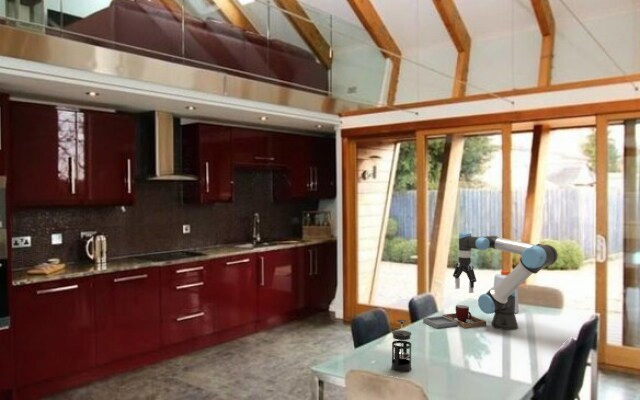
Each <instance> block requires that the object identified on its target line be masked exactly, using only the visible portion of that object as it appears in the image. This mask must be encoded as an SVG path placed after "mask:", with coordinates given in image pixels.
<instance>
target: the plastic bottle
mask: <svg viewBox="0 0 640 400" xmlns="http://www.w3.org/2000/svg"><path fill="white" fill-rule="evenodd" d="M510 272H511V271H510V270H501V271H500V273H499V274H494V279H493V281H494V282H493V287H497V286H498V285H499V284H500V283H501V282H502V281H503V280H504V279H505V278H506V276H507V275H508V274H509V273H510ZM514 292H515V315H516V314H518V313H519V312H520V310H519V309H520V308H519V293H518V288H517V289H516V290H515V291H514Z"/></svg>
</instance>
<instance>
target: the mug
mask: <svg viewBox="0 0 640 400" xmlns="http://www.w3.org/2000/svg"><path fill="white" fill-rule="evenodd" d="M469 310H470V308H469V306H468V305H465V304H464V305H463V304H457V305H456V306H455V313H456V316H457V318H456V320H459V321H461V322H464V323H467V321H470V320H469V319H471V317H472V316H473V315H472V313H471V312H470V311H469ZM468 315H470V317H469V319H468Z"/></svg>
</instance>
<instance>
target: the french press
mask: <svg viewBox="0 0 640 400" xmlns="http://www.w3.org/2000/svg"><path fill="white" fill-rule="evenodd" d="M396 321H397V322H399V323H400V324H401V325H400V327H401V330H400V329H399V330H398V329H397V330H393V331H392V332H391V333H392V338H393V339H394V341H392V342H391V368H390V369H391V370H392V371H393V372H397V373H408V372H411V371H412V370H413V369H412V343H411V342H410V341H409V340H410V339H411V336H412V332H411V331H407V330H403V325H404V323H406V322H407V320H406V319H402V318H401V319H398V320H396ZM396 344H400V345H396ZM407 349H409V353H407V351H408V350H407Z"/></svg>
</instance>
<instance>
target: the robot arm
mask: <svg viewBox="0 0 640 400" xmlns="http://www.w3.org/2000/svg"><path fill="white" fill-rule="evenodd" d="M458 234H459V235H458V261H457V262H458V263H455V268H454V272H453V274H452V277H454V283H455V289H456V290H457V289H460V288H461V287H460V285H461V284H460V283H461V277H460V276H461V275H462V274H463V273H465V274H466V276H467V278H468V280H469V282H468V293H469V294H473V293H474V287H475V283H476V282H477V278H476V274H475V270H474V266H473V265H470V264H471V263H472V258H471V257H472V249H473V250H478V251H479V250H480V251H486V250H488V249H493V250H494V249H495V250H499V251H502V252H507V253H512V254H515V255H520V256H521V257H520V258H519V263H518V264H517V265H515V267H514V268H513V269H512V270H511V271H510V273H509V274H508V275H507V276H506V278H505V279H504V280H503V281H502V282H501V283H500V284H499V285H498V286H497V287H494V286H493V287H490V289H489V290H488V291H487V292H486V293H482V294H481V295H480V296H478V299H477V304H478V307H479V309H480V310H481V312H483V313H484V314H487V315H488V314H493V316H492V317H493V318H492V320H491V326H492V327H493V328H495V329H500V330H505V331H506V330H510V331H512V330H517V329H518V328H519V325H518V322H517V317H516V314H515V292H514V291H515V290H516V289H517V290H518V288H520V286H521V285H522V284H523V283H524V282H526V280H528V278H530V277H531V276H532V274H534V275H535V274H537V273H539V272H540V271H541V270H542V269H543V268H545V267H549V266H552V265H554V264H555V263H556V262H557V260H558V258H559V257H558V256H559V255H558V250H557V249H556V248H555V247H554V246H553V245H549V244H543V243H537V244H533V243H528V242H523V241H517V240H513V239H509V238H504V237H499V236H497V235H487V236H472V233H471V232H466V231H465V232H464V231H463V232H459V233H458Z"/></svg>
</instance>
